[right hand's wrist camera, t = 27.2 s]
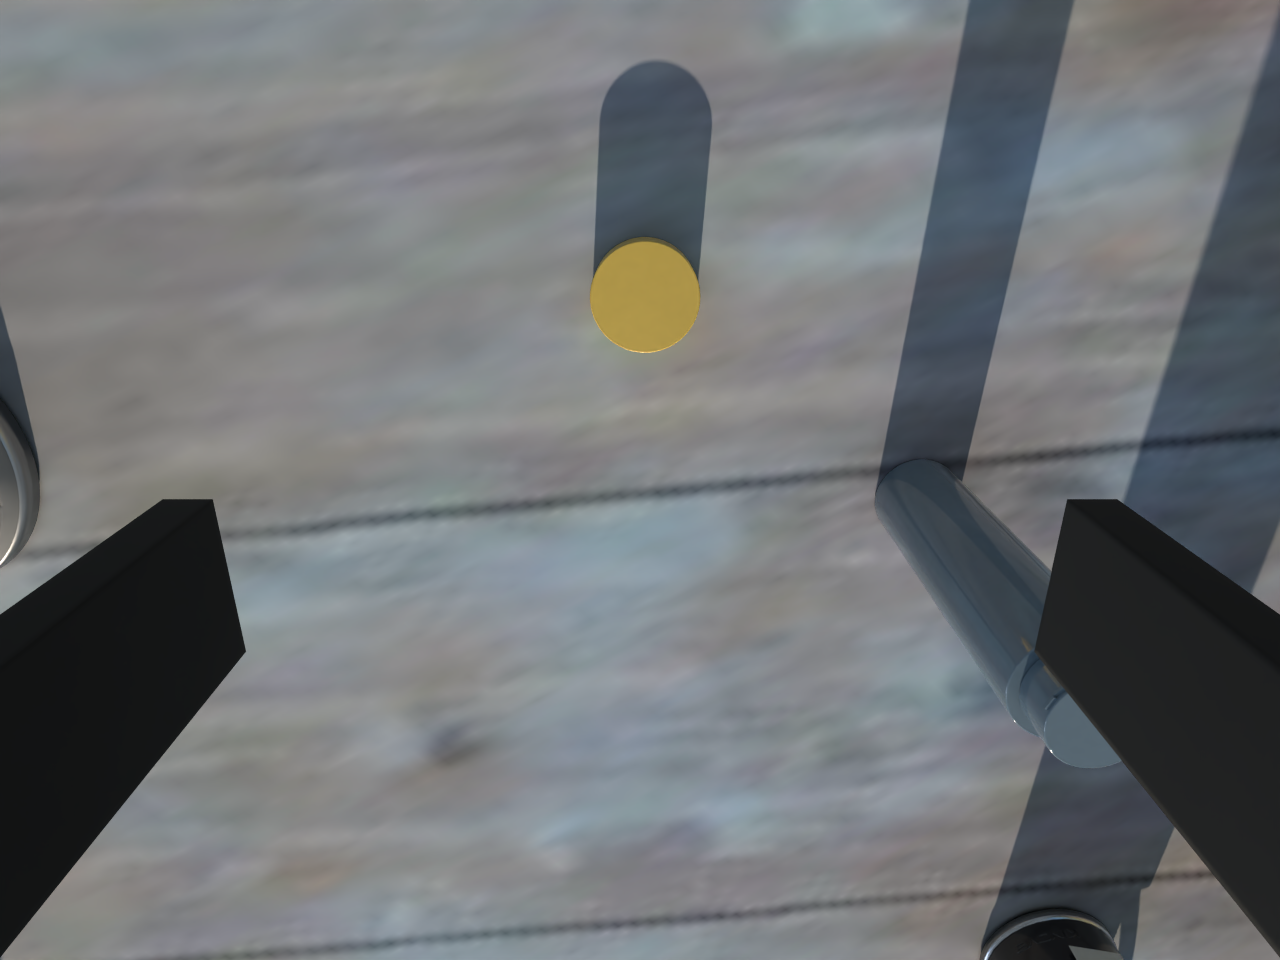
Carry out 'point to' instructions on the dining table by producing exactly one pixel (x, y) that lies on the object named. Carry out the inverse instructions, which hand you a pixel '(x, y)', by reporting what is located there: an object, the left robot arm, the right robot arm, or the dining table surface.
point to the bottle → (987, 600)
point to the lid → (645, 295)
